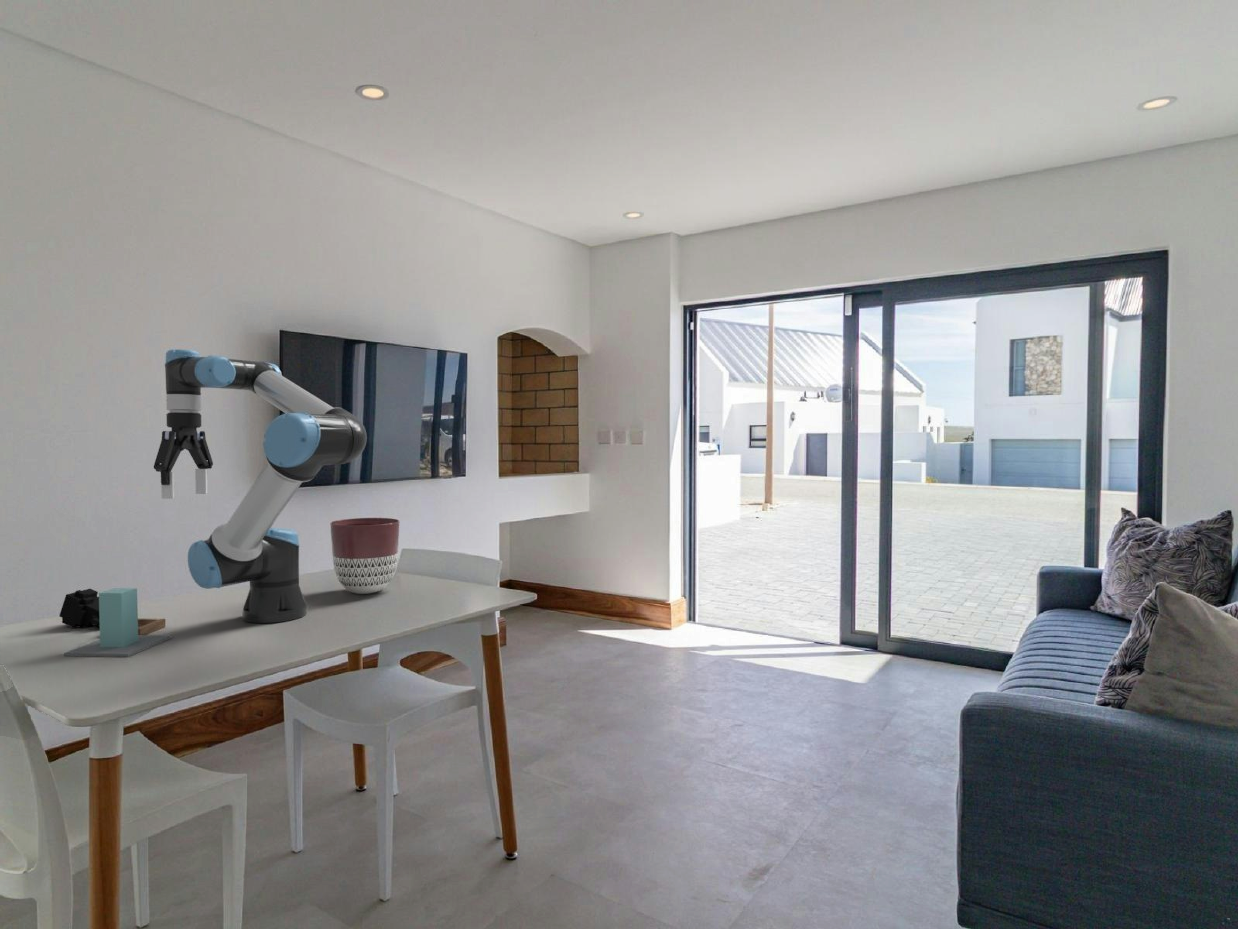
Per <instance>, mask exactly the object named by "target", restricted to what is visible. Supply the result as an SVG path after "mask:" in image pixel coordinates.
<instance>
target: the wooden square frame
mask: <svg viewBox="0 0 1238 929" xmlns="http://www.w3.org/2000/svg"><path fill="white" fill-rule="evenodd" d="M165 627H166V618H142V617H141V618H140V617H138V635H149V634H151V633H154V632H156V631H159V630H161V629H164V628H165Z"/></svg>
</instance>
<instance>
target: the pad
mask: <svg viewBox="0 0 1238 929" xmlns="http://www.w3.org/2000/svg"><path fill="white" fill-rule="evenodd" d="M171 636H172V635H161V634H160V635H159V634H158V635H154V634H153V635H152V634H151V635H149V634H147V635H138V641H137V642H134V643H132V644H130V645H127V646H125V647H100V638H98V639H97V640H95V641H92V642H89V643H86V644H83V645H81V646H79V647H76V648H74V649H71V650H67V651H65V652H64V653H63V656H64V657H107V658H108V657H110V658H111V657H113V658H114V657H118V658H121V657H122V658H124V657H125V658H129V657H132V656H134V655H136V654H138V653H140V652H143V651H144V650H147V649H150V648H151V647H154V646H156V645H159V644H161V643H163V642H165V641H168V640H170V639H171Z"/></svg>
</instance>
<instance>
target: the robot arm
mask: <svg viewBox="0 0 1238 929" xmlns="http://www.w3.org/2000/svg"><path fill="white" fill-rule="evenodd" d="M164 367H165V368H164V370H165V371H164V372H165V373H164V374H165V391H166V392H165V393H166V395H165V396H166V410H167V411H169V412H167V413H166V415H165V416H166V427H167V428H171V430H162V431H161V441H160V444H159V447H158V451H157V453H156V454H157V455H156V458H155V461H154V464H153V469H154V470H155V472H159V473H160V485H161V486H160V487H161V499H163V500H165V499H169V500H170V499H173V500H174V499H175V495H176V494H175V471H172V470H173V468H174V466H175V464H176V462H177V461H178V459H179V456H180V454H181V452H182V451H184V450H187V451H188V452H189V455H190V456H191V458H192V460H193V462H194V464H195V466H196V467H197V468H195V469H194V471H195V472H194V474H195V478H194V479H195V495H207V494H209V493H208V470H210V469H213V468H212V467H213V465H214V461H213V459H212V456H211V452H210V450H209V449H210V448H209V446H208V442H207V440H206V431H205V430H203V431H202V430H201V431H200V430H198V429H199V428H201V427H202V414H201V412H200V411H202V396H201V395H202V392H201V390H202V389H203V388H204V389H207V388H211V389H228V390H229V389H230V390H244V391H250V392H252V393H253V394H256V396H258V397H260V398H262V399H263V400H265V401H266V402H268V403H269V404H271V405H273V406H274V407H275V408H276V409H278V410H279V411H282V414H281V415H278V416H276V417H275V418H274V419H273V420H271V422H270V423H269V425H268V426H267V428H266V429H265V433H264V438H265V440H264V441H263V442H262V443H263V445H262V446H263V451H264V455H265V460H266V464H265V465H264V467H263V468H262V470H261V471H260V473H259V475H258V476H257V477H256V478H255V480H254V482H253V483H252V485H251V487H250V488H249V489H248V491H247V493H246V494H245V496H244V497H243V499H242V500H241V502H240V503H239V505H238V506H237V508H236V509H235V511H234V512H233V514H232V515H231V517H229V520H228V521H227V523H223V524H220V525H218V526H217V527H216V528H215V529H213V531H212V533H211V534H210V535H209V537H208V538H207V539H205V540H202V539H201V540H200V539H199V540H198V541H195V542H193V543H192V544H191V545H190V546H189V549H188V552H187V567H188V569H189V573H190V576H191V579H192V580H193V581H194V583H196V585H197V586H199V587H200V588H203V589H206V590H210V589H215V588H216V589H220V588H223V587H228V586H233V585H237V584H242V583H243V584H244V583H249V590H248V593H247V596H246V599H245V602H244V605H243V608H242V620H243V621H244V622H247V623H253V624H267V623H268V624H271V623H280V622H281V623H282V622H288V621H292V620H296V619H300V618H302V617H304V616H306V615H307V613H308V612H307V611H308V610H307V609H308V608H307V603H306V600H305V598H304V595H303V592H302V590H301V587H300V566H299V565H300V564H299V563H300V558H299V557H300V543H299V534H298V532H296V530H294V529H288V528H276V527H272V526H273V525H274V524H275V522H276V521H277V519H278V518H279V516H280V515H281V514H282V512H283V510H284V509H285V508H286V506H287V505H288V504H289V502H290V501H291V499H292V498H293V497H294V495H295V493H296V492H297V491H298V489H299V488H300V486H301V485H302V483H306V482H310V481H312V480H313V479H314V478H315V477H316V476H317V474H318V472H320V470H321V468H322V467H324V466H330V465H333V466H334V465H344V464H347V463H350V462H353V461H354V460H355V459H357V458H358V457H360V456H361V455H362V454H363V452H364V450H365V448H366V445H367V440H368V436H367V435H368V434H367V431H366V427H365V426H364V424H363V423H362V421H361V420H360V419H359V418H358V417H357V416H355V415H354V414H353V413H351V412H349V411H348V410H346V409H344V408H343V407H333V406H332V405H330V404H328V403H326V402H325V401H323V400H322V399H320V398H319V397H317V396H316V395H314V394H312V393H310V392H309V391H307V390H305V389H304V388H302V387H301V386H299V385H297V384H296V383H295V382H293V381H291V380H290V379H288V378H287V377H285V376H283V375H282V371H281V370H280V367H279V366H278V365H276V364H274V363H269V362H266V361H258V360H257V361H256V360H243V359H233V358H227V357H225V356H221V355H219V356H218V355H208V356H201V354H200V352H198V351H197V350H192V349H179V348H178V349H175V348H174V349H168V350H167V351H166V353H165V363H164ZM283 413H284V414H283Z"/></svg>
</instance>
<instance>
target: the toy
mask: <svg viewBox="0 0 1238 929" xmlns="http://www.w3.org/2000/svg"><path fill="white" fill-rule="evenodd" d="M98 595H99V591H96V590H94V589H92V588H87V589H83V590H80V589H79V590H75V591H74V592H71V593H68V594H65V598H64V600H63V602H62V607H61V609H60V612H59V616H58V617H60V618H61V620H62V621H61V623H62V624H65V625H67V626H69V627H71V628H73V629H75V628H80V629H82V628H83V629H84V628H86V627H90V626H98V627H100V619H99V596H98Z"/></svg>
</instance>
